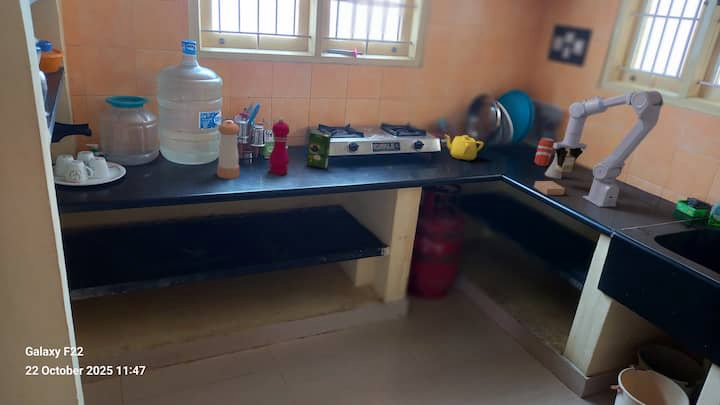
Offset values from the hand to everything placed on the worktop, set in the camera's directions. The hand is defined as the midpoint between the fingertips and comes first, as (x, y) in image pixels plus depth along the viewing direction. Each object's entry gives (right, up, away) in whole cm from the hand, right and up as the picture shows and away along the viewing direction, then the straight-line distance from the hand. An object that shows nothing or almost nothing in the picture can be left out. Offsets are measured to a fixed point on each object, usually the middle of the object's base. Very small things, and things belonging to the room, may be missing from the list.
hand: (564, 165), depth 207 cm
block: (0, -2, +1) cm, 2 cm away
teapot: (-37, +5, +24) cm, 44 cm away
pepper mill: (-112, -4, -20) cm, 114 cm away
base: (-8, -10, -5) cm, 14 cm away
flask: (0, -4, +14) cm, 14 cm away
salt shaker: (-128, -5, -29) cm, 131 cm away
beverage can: (0, +2, +28) cm, 28 cm away
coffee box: (-99, -1, -10) cm, 99 cm away
